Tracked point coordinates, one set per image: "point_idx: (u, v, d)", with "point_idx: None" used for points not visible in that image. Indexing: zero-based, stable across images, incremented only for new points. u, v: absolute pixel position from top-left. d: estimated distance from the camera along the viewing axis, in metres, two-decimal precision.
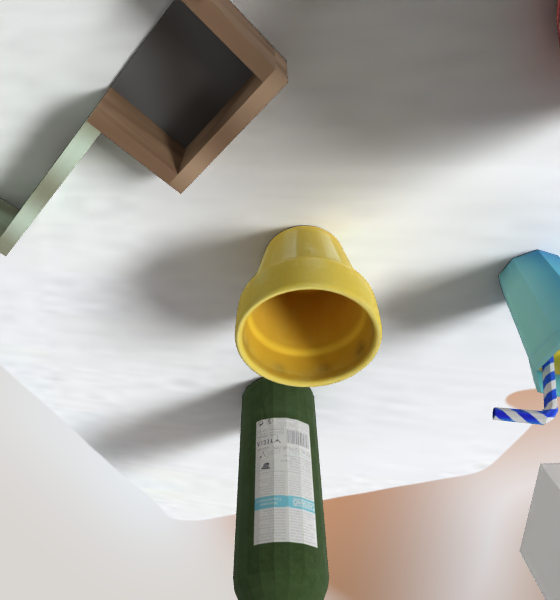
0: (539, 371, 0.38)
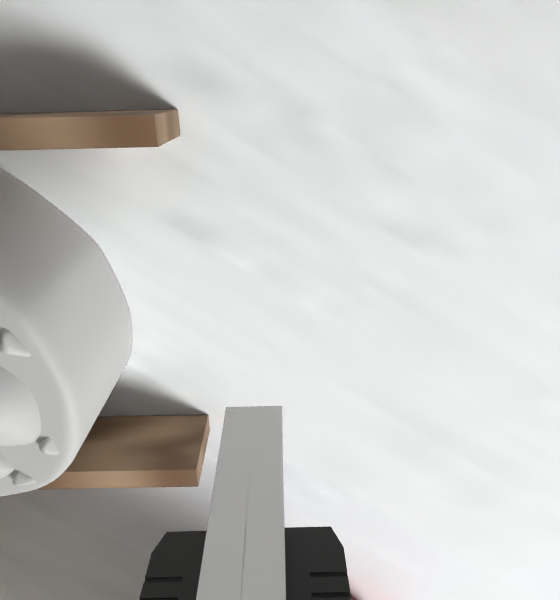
0: None
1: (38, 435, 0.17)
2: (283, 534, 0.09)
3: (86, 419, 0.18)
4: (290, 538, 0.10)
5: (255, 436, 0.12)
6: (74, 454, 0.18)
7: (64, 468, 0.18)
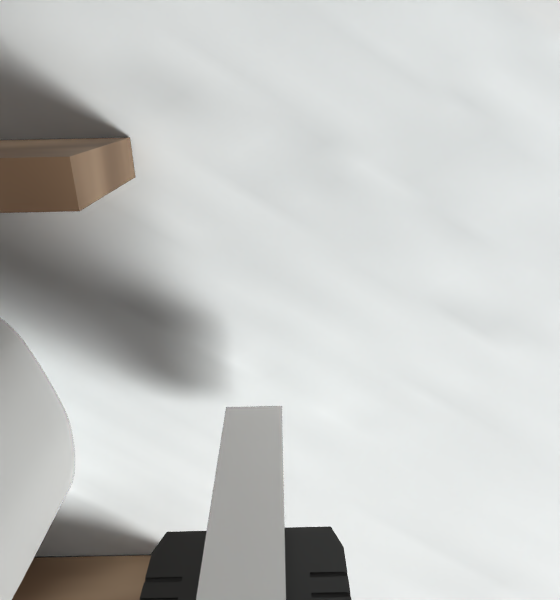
0: None
1: None
2: (283, 534, 0.09)
3: None
4: (290, 538, 0.10)
5: (255, 436, 0.12)
6: None
7: None
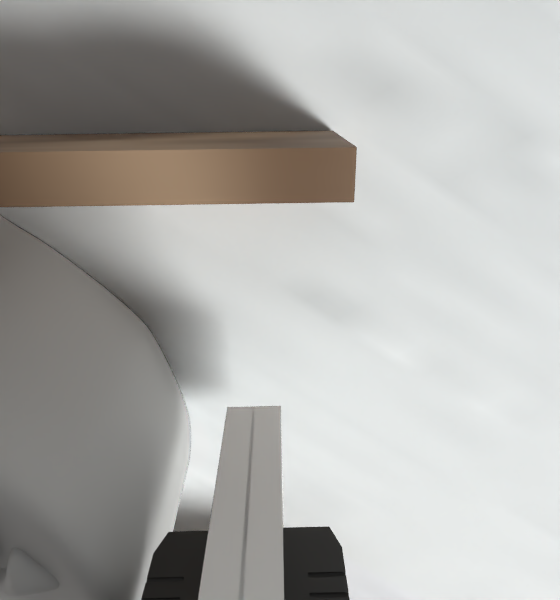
0: None
1: None
2: (281, 534, 0.09)
3: None
4: (288, 538, 0.10)
5: (256, 436, 0.12)
6: None
7: None
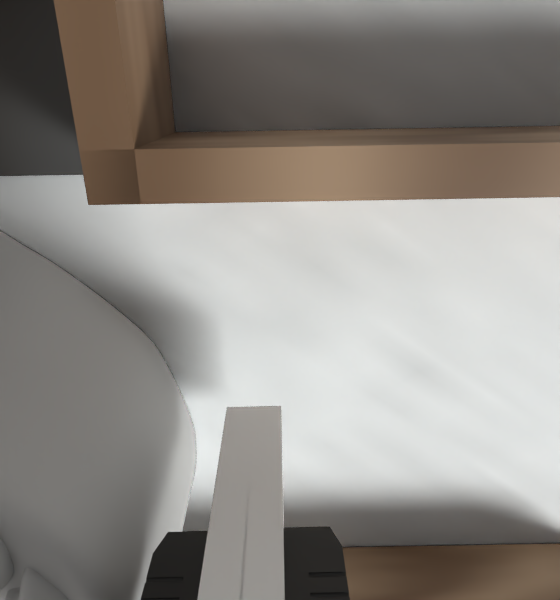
0: None
1: None
2: (282, 534, 0.09)
3: None
4: (289, 538, 0.10)
5: (256, 436, 0.12)
6: None
7: None
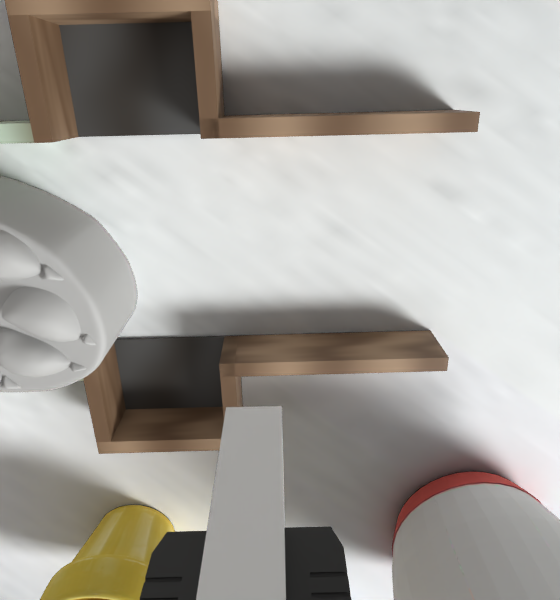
0: None
1: (80, 333, 0.27)
2: (283, 534, 0.09)
3: (109, 322, 0.28)
4: (290, 538, 0.10)
5: (255, 436, 0.12)
6: (105, 345, 0.28)
7: (101, 355, 0.28)
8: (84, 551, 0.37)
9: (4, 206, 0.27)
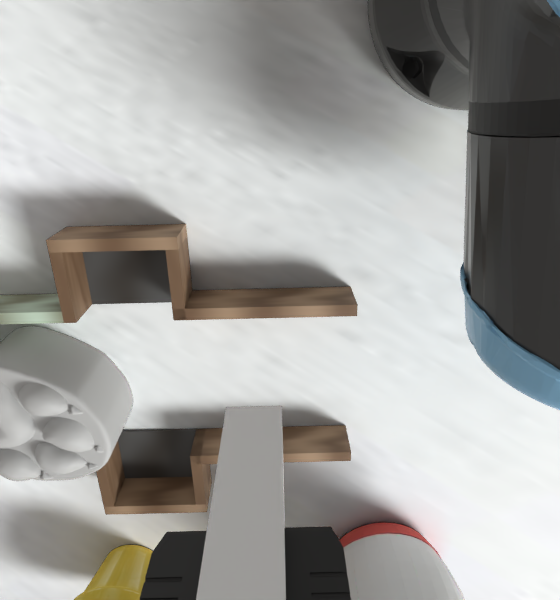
0: None
1: (93, 445, 0.41)
2: (283, 534, 0.09)
3: (112, 435, 0.42)
4: (290, 538, 0.10)
5: (255, 436, 0.12)
6: (110, 451, 0.42)
7: (108, 458, 0.42)
8: (94, 582, 0.51)
9: (43, 362, 0.40)
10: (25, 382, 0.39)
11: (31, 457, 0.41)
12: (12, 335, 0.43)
